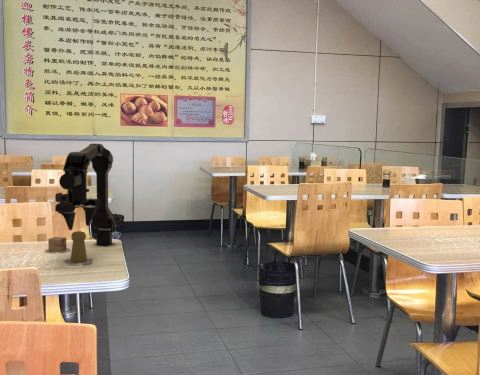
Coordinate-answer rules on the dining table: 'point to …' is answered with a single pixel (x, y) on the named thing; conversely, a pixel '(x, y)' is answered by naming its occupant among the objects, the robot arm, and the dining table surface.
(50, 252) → the coaster
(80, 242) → the brown rounded piece
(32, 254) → the dining table surface
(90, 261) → the coaster empty
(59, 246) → the walnut cube
